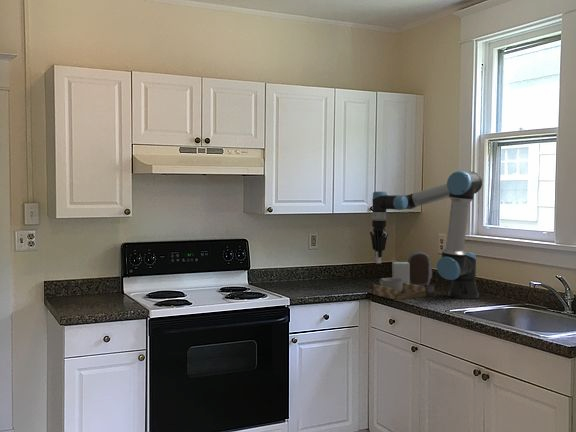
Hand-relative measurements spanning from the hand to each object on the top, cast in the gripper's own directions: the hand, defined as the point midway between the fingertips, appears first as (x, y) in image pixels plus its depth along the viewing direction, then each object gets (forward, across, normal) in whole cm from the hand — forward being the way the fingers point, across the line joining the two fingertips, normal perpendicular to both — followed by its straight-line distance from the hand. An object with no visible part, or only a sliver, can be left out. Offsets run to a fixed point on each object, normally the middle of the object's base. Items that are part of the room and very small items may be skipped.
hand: (378, 263), depth 340 cm
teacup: (+15, +10, 0) cm, 18 cm away
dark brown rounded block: (+15, -4, +33) cm, 37 cm away
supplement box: (+15, +2, +14) cm, 21 cm away
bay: (+15, +19, +4) cm, 24 cm away
